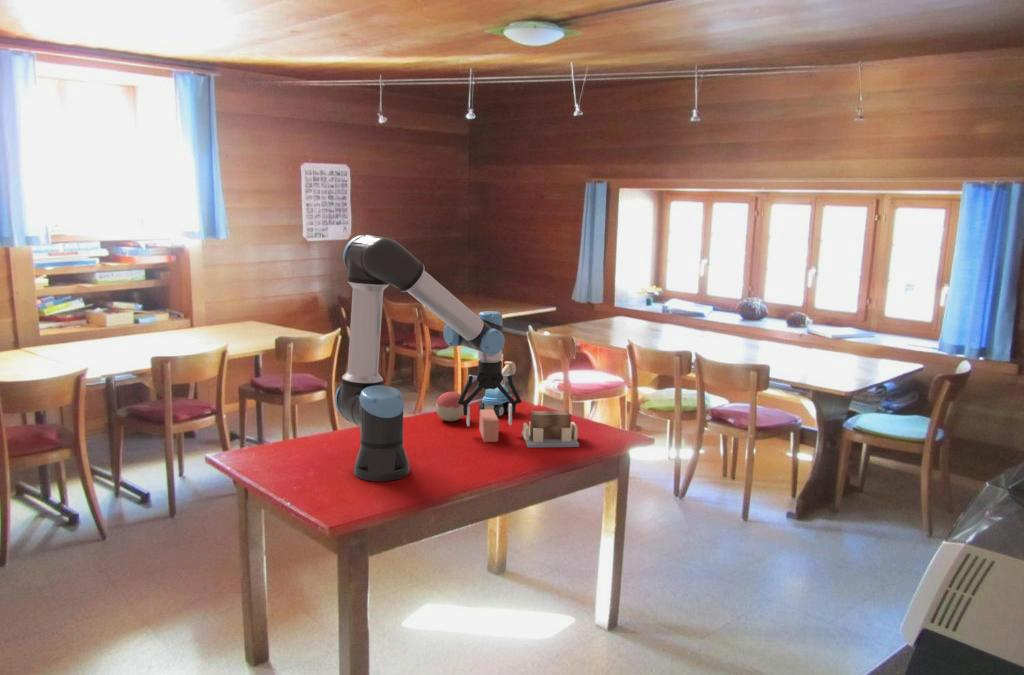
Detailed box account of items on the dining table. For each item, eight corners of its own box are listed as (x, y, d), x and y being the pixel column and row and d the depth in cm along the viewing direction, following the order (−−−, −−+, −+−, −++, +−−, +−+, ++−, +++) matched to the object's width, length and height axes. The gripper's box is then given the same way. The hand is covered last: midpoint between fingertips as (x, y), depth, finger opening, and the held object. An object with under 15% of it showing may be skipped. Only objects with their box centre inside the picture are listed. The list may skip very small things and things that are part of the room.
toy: (469, 416, 279) (470, 388, 277) (461, 426, 267) (461, 397, 266) (442, 414, 281) (442, 386, 279) (432, 423, 269) (432, 394, 267)
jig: (527, 447, 247) (527, 432, 246) (521, 433, 260) (521, 419, 260) (579, 446, 249) (580, 431, 248) (570, 433, 263) (571, 418, 262)
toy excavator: (522, 408, 291) (524, 362, 288) (497, 418, 277) (498, 370, 274) (502, 404, 295) (504, 359, 292) (477, 414, 282) (477, 367, 278)
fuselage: (532, 439, 252) (533, 415, 250) (530, 435, 256) (530, 411, 254) (569, 439, 253) (570, 414, 252) (567, 434, 257) (567, 410, 256)
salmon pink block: (484, 442, 251) (484, 420, 250) (479, 430, 264) (479, 409, 263) (498, 442, 252) (498, 420, 251) (492, 429, 265) (493, 409, 263)
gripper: (451, 363, 248) (451, 428, 252) (530, 362, 251) (529, 427, 255) (450, 357, 255) (449, 421, 260) (527, 357, 259) (525, 420, 263)
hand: (489, 424), depth 257 cm, fingers open, 13 cm apart
